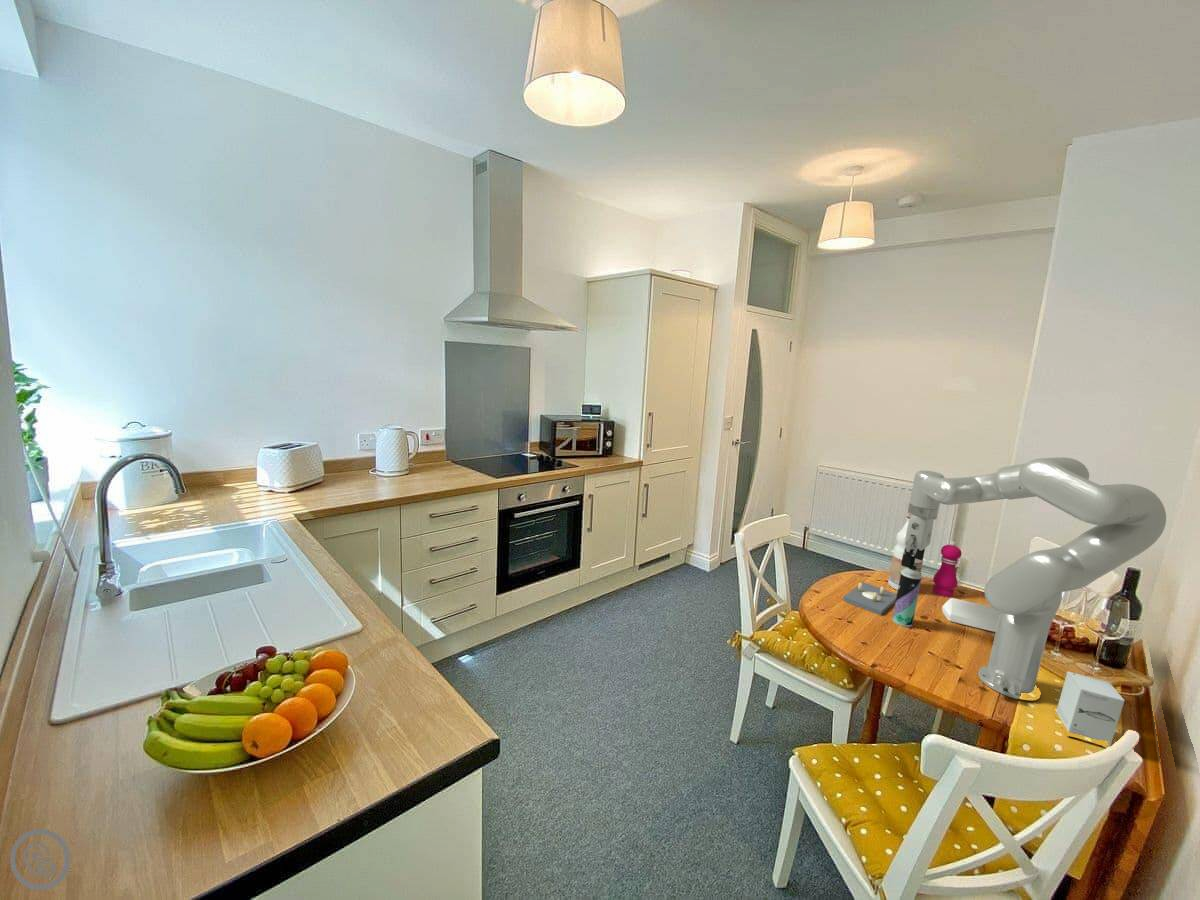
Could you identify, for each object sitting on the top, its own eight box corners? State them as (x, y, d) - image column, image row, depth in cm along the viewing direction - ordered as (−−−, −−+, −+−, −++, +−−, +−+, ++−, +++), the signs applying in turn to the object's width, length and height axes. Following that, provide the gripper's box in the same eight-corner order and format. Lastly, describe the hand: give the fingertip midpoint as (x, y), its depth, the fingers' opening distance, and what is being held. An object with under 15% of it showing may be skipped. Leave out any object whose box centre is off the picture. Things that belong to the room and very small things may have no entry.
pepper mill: (959, 598, 169) (970, 546, 165) (936, 596, 171) (947, 544, 167) (948, 589, 176) (959, 539, 172) (927, 586, 178) (937, 536, 174)
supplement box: (1066, 737, 107) (1079, 688, 104) (1053, 716, 113) (1066, 669, 111) (1110, 751, 103) (1126, 700, 101) (1095, 728, 110) (1109, 680, 107)
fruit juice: (887, 588, 175) (900, 516, 169) (887, 579, 183) (899, 510, 177) (917, 596, 170) (931, 522, 164) (916, 586, 178) (930, 515, 172)
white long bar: (945, 612, 152) (1042, 635, 141) (944, 594, 157) (1038, 615, 146) (939, 625, 156) (1034, 648, 145) (939, 607, 161) (1030, 628, 150)
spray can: (888, 619, 153) (899, 562, 149) (899, 616, 156) (909, 559, 152) (905, 628, 148) (916, 569, 144) (916, 625, 151) (927, 566, 147)
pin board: (880, 615, 156) (882, 602, 155) (842, 600, 164) (844, 588, 163) (898, 598, 168) (900, 586, 167) (862, 585, 176) (864, 574, 175)
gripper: (928, 520, 136) (917, 575, 140) (944, 509, 148) (933, 559, 151) (899, 513, 142) (889, 565, 145) (917, 502, 153) (907, 551, 157)
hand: (911, 562), depth 148 cm, fingers open, 9 cm apart
